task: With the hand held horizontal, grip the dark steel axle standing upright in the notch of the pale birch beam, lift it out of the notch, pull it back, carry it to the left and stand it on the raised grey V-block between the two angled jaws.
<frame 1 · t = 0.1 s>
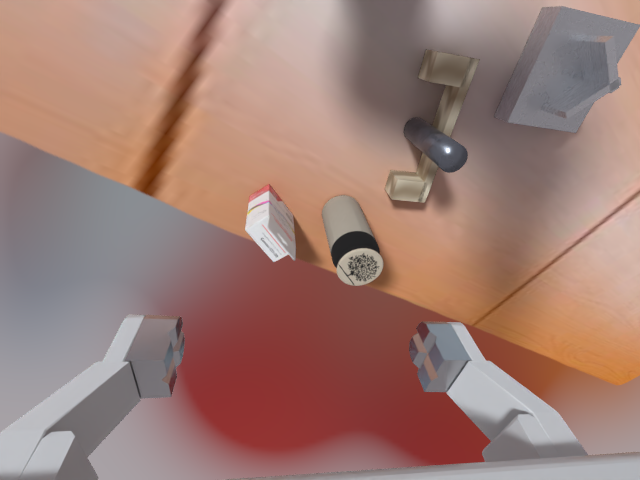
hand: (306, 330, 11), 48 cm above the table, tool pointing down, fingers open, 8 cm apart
notched beam: (414, 129, 56), on the table
steel axle: (431, 142, 50), in the notched beam
travel mug: (340, 211, 64), on the table
v block: (546, 72, 53), on the table
ink cartridge box: (271, 205, 62), on the table
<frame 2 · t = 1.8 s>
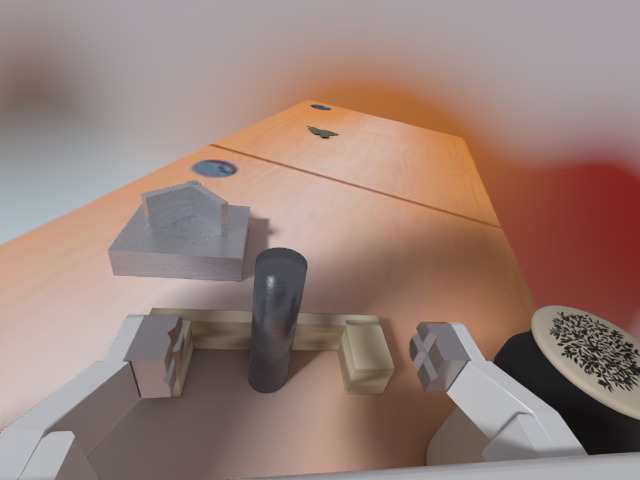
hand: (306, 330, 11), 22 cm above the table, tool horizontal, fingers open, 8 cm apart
notched beam: (267, 374, 33), on the table
steel axle: (273, 326, 29), in the notched beam
olive green flat piece: (322, 132, 114), on the table
travel mug: (468, 478, 28), on the table
v block: (190, 251, 47), on the table
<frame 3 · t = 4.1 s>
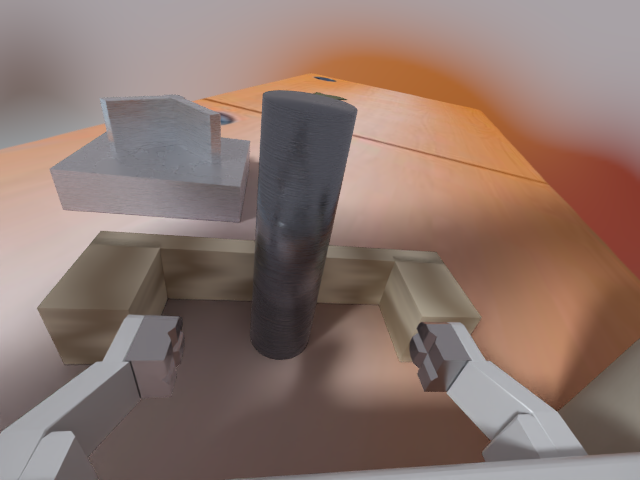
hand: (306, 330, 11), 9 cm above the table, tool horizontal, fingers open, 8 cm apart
notched beam: (280, 333, 22), on the table
steel axle: (291, 245, 17), in the notched beam
olive green flat piece: (328, 97, 103), on the table
v block: (172, 189, 36), on the table
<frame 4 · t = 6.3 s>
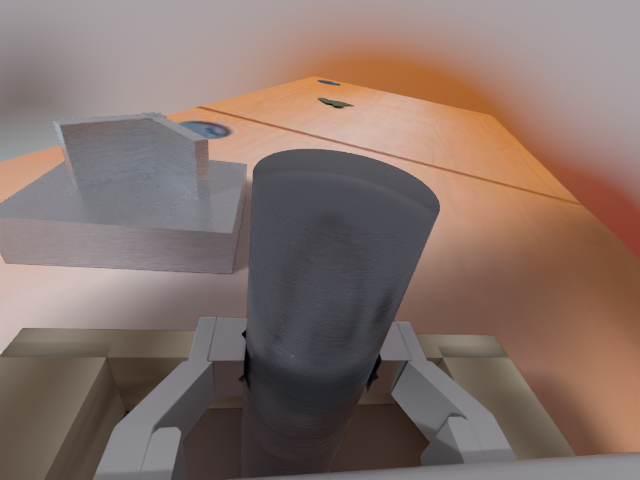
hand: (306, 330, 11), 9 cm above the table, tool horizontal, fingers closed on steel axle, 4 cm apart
notched beam: (282, 469, 15), on the table
steel axle: (302, 380, 11), in the notched beam, touching gripper
olive green flat piece: (333, 103, 97), on the table
v block: (150, 227, 29), on the table
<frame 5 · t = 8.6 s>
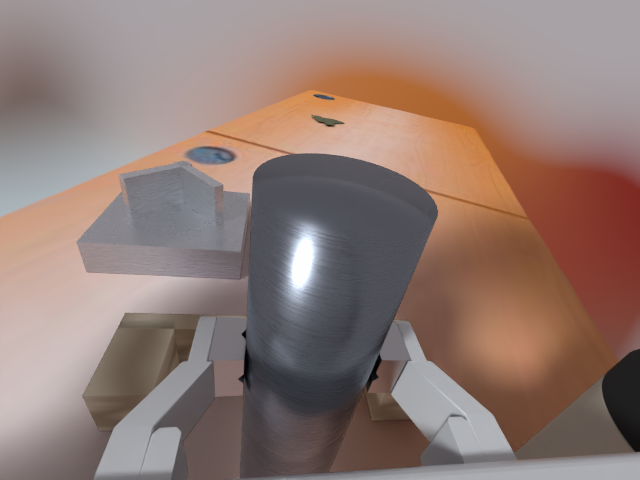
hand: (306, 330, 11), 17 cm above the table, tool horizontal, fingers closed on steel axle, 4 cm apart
notched beam: (272, 395, 26), on the table
steel axle: (302, 381, 11), point 15 cm above the table, touching gripper
olive green flat piece: (326, 121, 107), on the table
v block: (180, 244, 40), on the table
when the fingers open (14 cm above the table, at t = 11.4 s): steel axle stays where it is, resting on v block.
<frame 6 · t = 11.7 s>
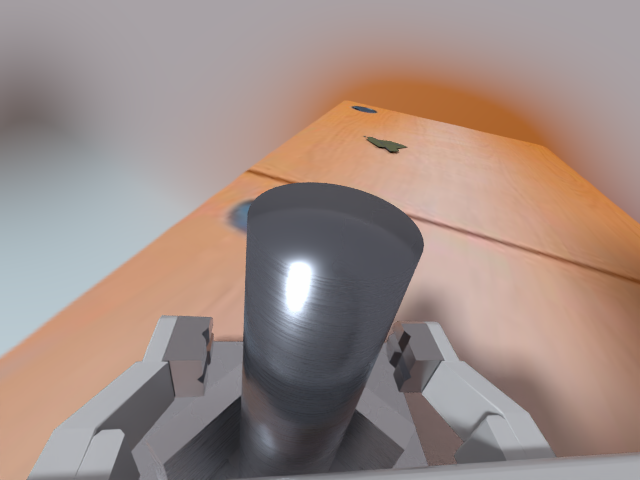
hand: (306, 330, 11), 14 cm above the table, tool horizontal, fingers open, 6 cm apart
steel axle: (297, 396, 11), point 12 cm above the table, touching v block
olive green flat piece: (383, 144, 85), on the table
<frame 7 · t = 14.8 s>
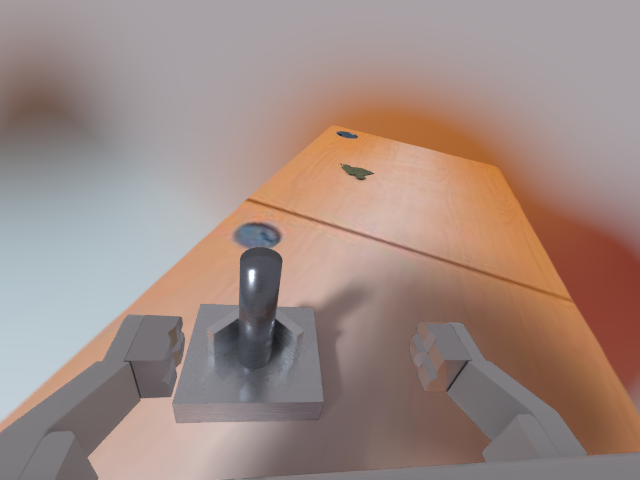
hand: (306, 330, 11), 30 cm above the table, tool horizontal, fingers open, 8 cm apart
steel axle: (257, 313, 34), point 12 cm above the table, touching v block
olive green flat piece: (355, 170, 108), on the table
v block: (253, 373, 41), on the table
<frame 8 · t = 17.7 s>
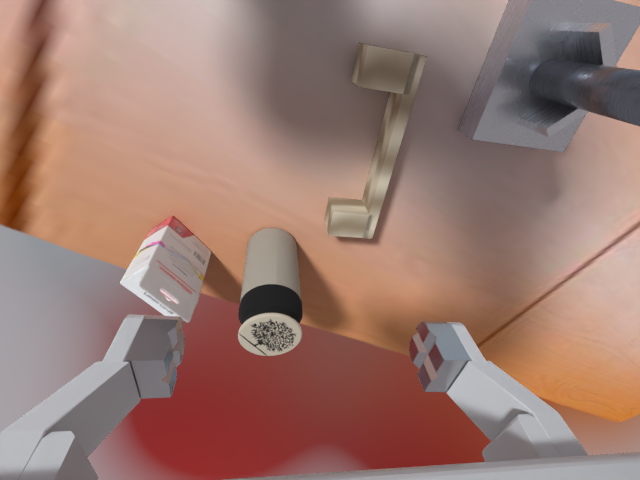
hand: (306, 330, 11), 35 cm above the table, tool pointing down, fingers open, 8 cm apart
notched beam: (354, 146, 43), on the table
steel axle: (599, 89, 31), point 12 cm above the table, touching v block
travel mug: (272, 246, 52), on the table
v block: (524, 73, 40), on the table
ink cartridge box: (182, 240, 49), on the table
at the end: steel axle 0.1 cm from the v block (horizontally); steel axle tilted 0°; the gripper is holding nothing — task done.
